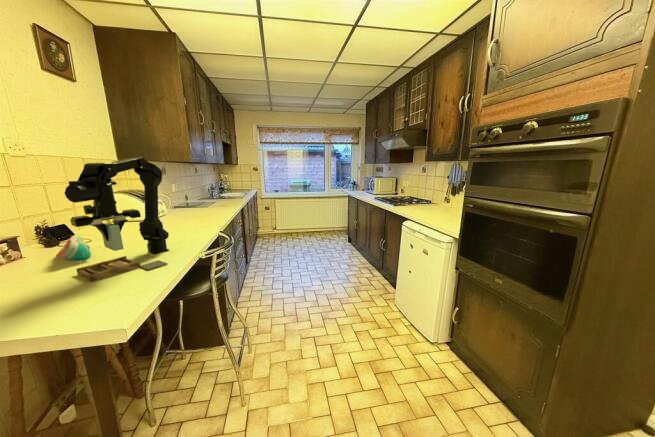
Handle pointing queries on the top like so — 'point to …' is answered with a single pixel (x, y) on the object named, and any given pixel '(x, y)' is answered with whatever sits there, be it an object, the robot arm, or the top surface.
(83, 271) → the rack
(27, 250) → the top surface
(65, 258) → the athletic shoe
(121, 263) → the offcut stack
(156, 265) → the rubber mat
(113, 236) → the grey square block
